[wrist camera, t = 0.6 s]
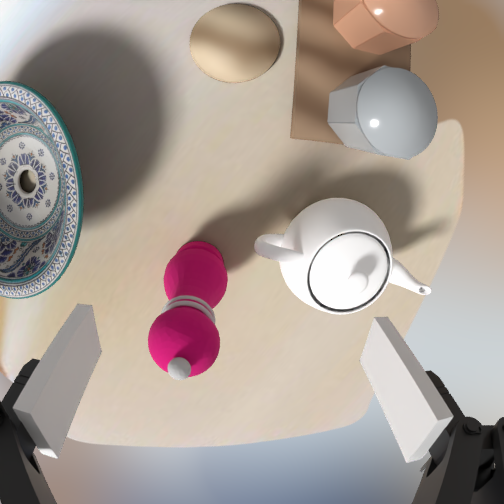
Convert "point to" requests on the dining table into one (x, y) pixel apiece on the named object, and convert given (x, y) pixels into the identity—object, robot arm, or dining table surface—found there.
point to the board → (327, 69)
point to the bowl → (36, 193)
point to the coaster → (234, 43)
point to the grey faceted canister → (384, 112)
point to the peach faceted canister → (384, 22)
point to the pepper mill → (189, 312)
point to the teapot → (337, 257)
